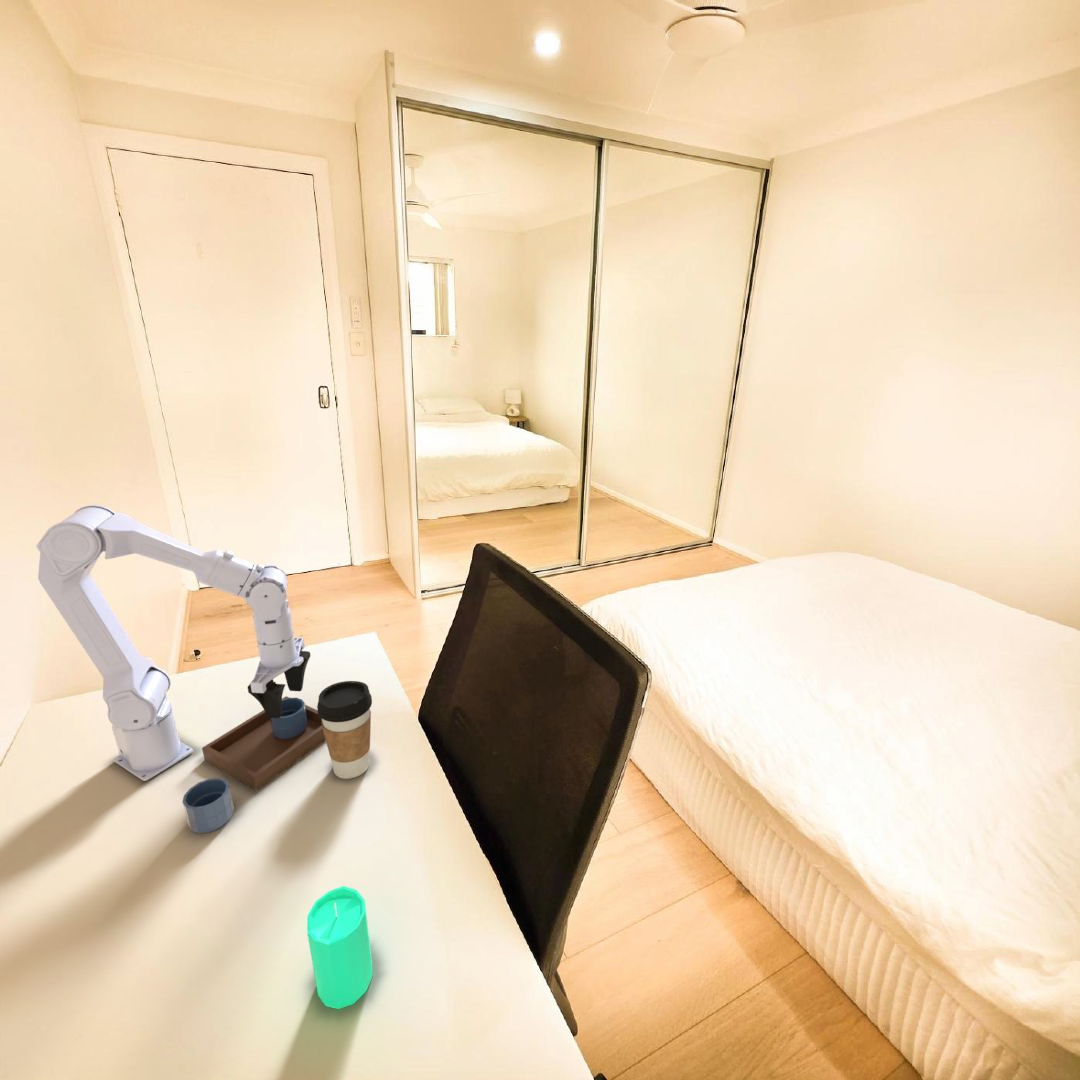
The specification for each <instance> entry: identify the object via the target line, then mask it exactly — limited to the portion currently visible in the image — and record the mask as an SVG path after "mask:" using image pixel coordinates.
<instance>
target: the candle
mask: <svg viewBox="0 0 1080 1080" xmlns="http://www.w3.org/2000/svg"><path fill="white" fill-rule="evenodd" d="M367 916H368V915H367V907H366V900H365V898H364V897H363V896H362V894H361V893H360V892H359V891H358V890H357V889H355V888H351V887H350V886H349V887H348V886H345V885H341V886H339V887H337V888H334V889H331V890H329V891H327V892H326V893H324V894H323V895H322V896H320V897H319V898H318V899H317V900H315V901H314V903H313V905H312V907H311V908H310V910H309V912H308V914H307V921H306V923H307V924H306V925H307V927H306V933H307V934H306V935H307V940H308V944H309V951H310V957H311V962H312V969H313V974H314V980H315V986H316V992H317V996H318V998H319V1000H320V1001H321V1003H323V1005H324V1006H325V1007H327V1008H330V1009H331V1008H332V1009H335V1010H341V1009H343V1008H346V1007H349V1006H352V1005H354V1004H355V1003H356V1002H358V1000H359V999H361V997H363V995H365V994H366V993H367V991H368V989H369V986H370V984H371V981H372V979H373V977H374V976H373V975H374V974H373V959H372V950H371V942H370V941H371V940H370V933H369V926H368V917H367Z"/></svg>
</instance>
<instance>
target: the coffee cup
mask: <svg viewBox="0 0 1080 1080" xmlns="http://www.w3.org/2000/svg"><path fill="white" fill-rule="evenodd" d="M316 705H317V706H316V710H318V715H319V716H320V717H321V718H322V721H321V723H322V727H323V731H324V735H325V739H324V740H325V743H326V747H327V750H328V754H329V757H330V761H331V766H332V770H333V773H334V775H335V776H336V777H337V778H340V779H345V780H349V779H354V778H357V777H360V776H361V775H363V774H364V773H365V772H366V771H367V770H369V767H370V765H371V727H372V726H371V725H372V724H371V723H372V722H371V721H372V711H371V707H372V705H373V698H372V694H371V692H370V689H369V685H368V684H366V682H362V681H358V680H345V681H339V682H335V683H333V684H331V685H329V686H326V687H325V688H323V690H322V691H321V692H320V693H319V695H318V702H317V704H316Z"/></svg>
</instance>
